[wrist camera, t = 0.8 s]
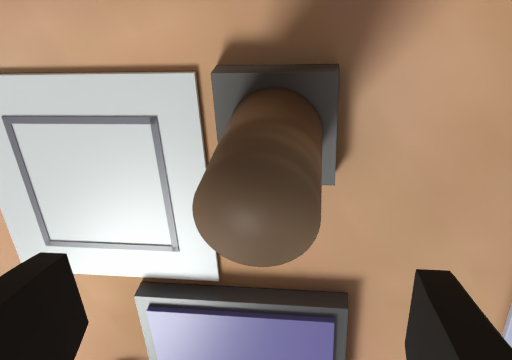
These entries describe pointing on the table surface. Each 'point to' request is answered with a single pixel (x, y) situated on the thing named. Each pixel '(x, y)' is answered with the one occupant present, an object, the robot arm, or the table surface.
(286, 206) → the stamp
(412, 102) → the table surface
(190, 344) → the ink pad
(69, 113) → the card sheet
